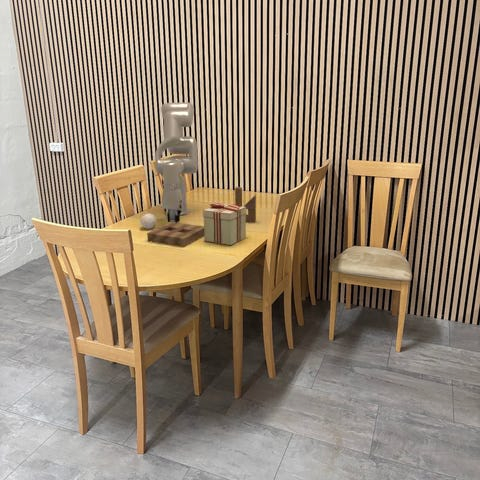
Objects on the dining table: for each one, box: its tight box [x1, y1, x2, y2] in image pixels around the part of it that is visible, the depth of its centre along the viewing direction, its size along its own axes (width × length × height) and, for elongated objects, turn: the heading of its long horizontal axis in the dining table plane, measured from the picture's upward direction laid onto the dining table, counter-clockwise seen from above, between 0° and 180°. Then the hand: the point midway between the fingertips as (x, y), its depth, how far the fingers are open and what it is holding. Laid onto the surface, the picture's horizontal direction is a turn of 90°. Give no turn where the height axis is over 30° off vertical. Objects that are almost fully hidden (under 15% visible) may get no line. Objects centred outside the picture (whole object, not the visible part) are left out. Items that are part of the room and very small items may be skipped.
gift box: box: [202, 201, 247, 246], centre depth 226 cm, size 17×18×17 cm
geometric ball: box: [140, 212, 157, 230], centre depth 244 cm, size 8×8×8 cm
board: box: [146, 222, 205, 248], centre depth 229 cm, size 20×20×4 cm
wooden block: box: [234, 186, 257, 224], centre depth 252 cm, size 4×11×18 cm, turn 77°
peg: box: [169, 209, 176, 223], centre depth 247 cm, size 4×4×11 cm
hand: (173, 221), depth 248 cm, fingers closed on peg, 3 cm apart
